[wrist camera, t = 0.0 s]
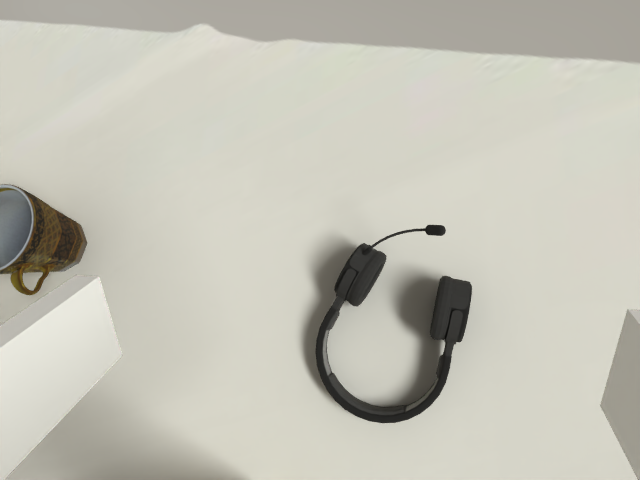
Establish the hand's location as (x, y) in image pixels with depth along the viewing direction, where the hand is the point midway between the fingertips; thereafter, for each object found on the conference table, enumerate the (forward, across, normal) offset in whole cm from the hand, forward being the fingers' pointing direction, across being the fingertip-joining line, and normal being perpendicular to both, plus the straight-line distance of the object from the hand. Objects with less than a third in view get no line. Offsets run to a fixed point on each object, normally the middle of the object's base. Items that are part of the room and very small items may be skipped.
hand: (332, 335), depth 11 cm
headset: (+30, 0, +21) cm, 36 cm away
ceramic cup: (+33, +41, +16) cm, 55 cm away
